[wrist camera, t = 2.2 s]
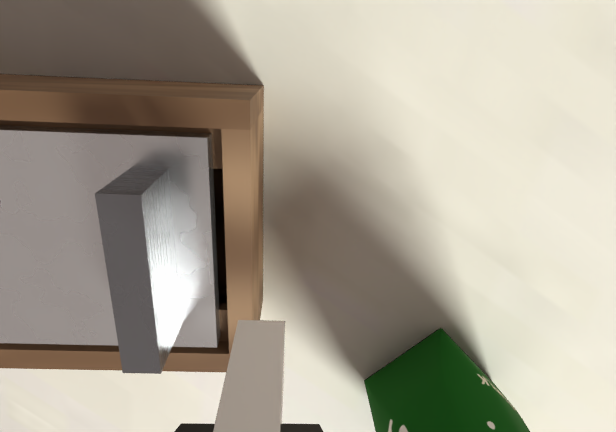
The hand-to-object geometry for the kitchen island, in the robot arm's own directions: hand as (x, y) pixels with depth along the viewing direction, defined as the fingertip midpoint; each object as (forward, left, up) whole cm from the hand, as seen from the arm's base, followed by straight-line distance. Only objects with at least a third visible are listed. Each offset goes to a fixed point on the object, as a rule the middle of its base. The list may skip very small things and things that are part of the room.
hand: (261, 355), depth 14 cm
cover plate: (0, -11, -7) cm, 14 cm away
